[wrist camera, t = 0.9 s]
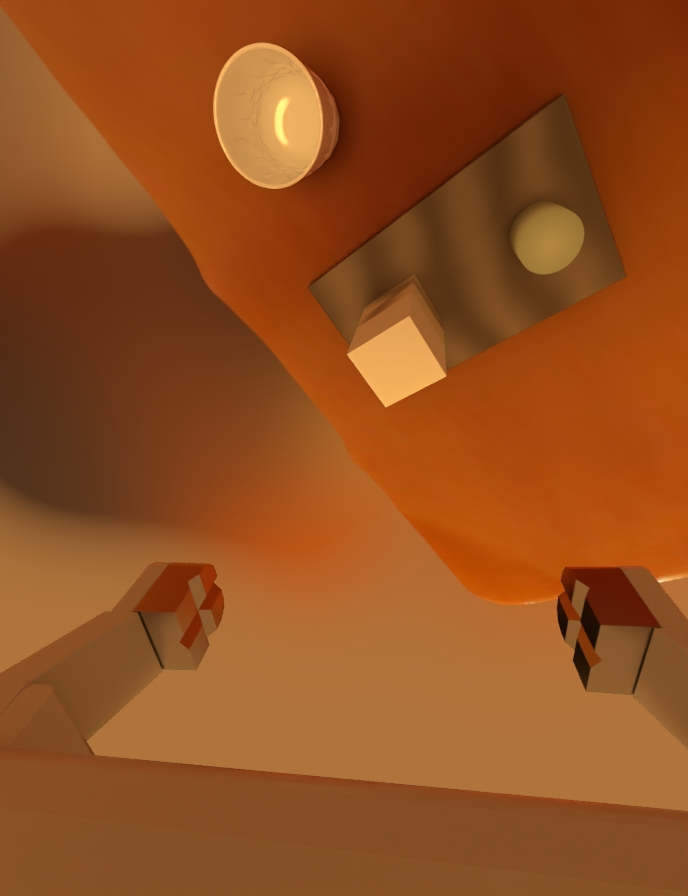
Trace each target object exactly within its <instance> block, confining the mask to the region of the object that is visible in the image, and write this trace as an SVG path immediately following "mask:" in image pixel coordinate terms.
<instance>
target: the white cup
mask: <svg viewBox="0 0 688 896" xmlns="http://www.w3.org/2000/svg"><path fill="white" fill-rule="evenodd" d="M213 111H214V122H215V127H216V132H217V135H218V139H219V141H220V144H221V146H222V149H223V151H224V153H225V155H226V156H227V158H228V160H229V161H230V162H231V164H232V165H233V166H234V168H235V169H236V170H237V171H238V172H239V173H240V174H241V175H242V176H243V177H245V178H246V179H247V180H249V181H250V182H252V183H254V184H256V185H258V186H261V187H265V188H270V189H279V188H285V187H288V186H291V185H293V184H295V183H296V182H298V181H299V180H301V179H303V178H305V177H307V176H308V175H310V174H311V173H313V172H314V171H315V170H316V169H318V168H319V167H320V166H321V165H322V164H323V163H324V162H325V161H326V160H328V159H329V158H330V156H331V154H332V152H333V150H334V148H335V146H336V144H337V142H338V135H339V123H340V117H339V114H338V110H337V106H336V103H335V99H334V96H333V95H332V94H331V92H330V91H329V90H328V89H327V87H326V86H325V84H324V83H323V81H322V80H321V79H320V78H319V77H318V76H317V75H316V74H315V73H314V72H313V71H312V70H311V69H310V68H309V67H308V66H306V65H305V64H304V63H303V62H301V61H300V60H299V59H298V58H296V57H295V56H294V55H293V54H292V53H290V52H289V51H287V50H286V49H284V48H282V47H280V46H277V45H274V44H270V43H254V44H250V45H248V46H245V47H243V48H241V49H240V50H238V51H237V52H236V53H235V54H233V55H232V56H231V57H230V59H229V60H228V61H227V62H226V64H225V65H224V67H223V69H222V71H221V73H220V75H219V78H218V81H217V84H216V88H215V93H214V104H213Z"/></svg>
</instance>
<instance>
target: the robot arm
mask: <svg viewBox="0 0 688 896" xmlns="http://www.w3.org/2000/svg"><path fill="white" fill-rule="evenodd" d="M216 577H217V574H216V571H215V568H214V566H213V565H211V564H206V563H175V562H173V563H164V562H155V563H152V564H150V565H149V566H148V567H147V568H146V569H145V571H144V572H143V573H142V574H141V576H140V577H139V578H138V579H137V580H136V582H135V583H134V584H133V585H132V587H131V588H130V589H129V590H128V592H127V593H126V594H125V595H124V596H123V598H122V599H121V600H120V601H119V602H118V604H117V605H116V606H115V607H114V609H113V610H112V611H111V612H107V611H106V612H103V613H102V614H100V615H98V616H97V617H95V618H93V619H92V620H90V621H88V622H86V623H85V624H83V625H81V626H80V627H78V628H76V629H75V630H73V631H71V632H70V633H68V634H66V635H64V636H63V637H61V638H59V639H58V640H56V641H54V642H53V643H51V644H49V645H48V646H46V647H44V648H43V649H41V650H39V651H37V652H36V653H34V654H32V655H31V656H29V657H27V658H26V659H24V660H22V661H20V662H19V663H17V664H15V665H14V666H12V667H10V668H9V669H7V670H5V671H4V672H2V673H0V896H688V811H681V810H670V809H660V808H650V807H639V806H628V805H618V804H607V803H597V802H586V801H575V800H565V799H553V798H543V797H532V796H522V795H512V794H500V793H490V792H480V791H469V790H458V789H448V788H437V787H426V786H416V785H405V784H395V783H384V782H373V781H363V780H352V779H341V778H330V777H320V776H309V775H298V774H287V773H276V772H266V771H254V770H244V769H234V768H223V767H212V766H202V765H192V764H180V763H170V762H160V761H149V760H139V759H128V758H118V757H107V756H96V755H95V754H94V753H93V751H92V749H91V748H90V746H89V745H88V743H87V740H88V739H89V738H90V737H91V736H93V734H95V733H96V732H97V731H98V730H99V729H100V728H101V727H102V726H104V725H105V724H106V723H107V722H108V721H109V720H110V719H111V718H112V717H113V716H114V715H115V714H117V713H118V712H119V711H120V710H121V709H122V708H123V707H124V706H125V705H126V704H128V702H130V701H131V700H132V699H133V698H134V697H135V696H136V695H137V694H138V693H140V692H141V691H142V690H143V689H144V688H145V687H146V686H147V685H148V684H149V683H150V682H152V681H153V680H154V679H155V678H156V677H157V676H158V675H159V674H160V673H161V672H162V671H163V670H162V669H171V670H172V669H173V670H197V668H198V666H199V664H200V662H201V660H202V658H203V656H204V654H205V652H206V650H207V648H208V646H209V642H208V639H207V636H209V635H210V634H211V633H213V632H214V631H215V630H216V629H217V628H218V626H219V624H220V622H221V619H222V615H223V610H224V597H223V593H222V590H221V589H220V588H219V587H218V586H217V585H216V584H215V583H214V581H215V579H216ZM561 583H562V585H563V587H564V589H565V591H564V592H563V593H562V594H560V595H559V596H558V602H557V616H558V623H559V627H560V630H561V633H562V636H563V638H564V641H565V642H566V643H567V644H568V645H570V646H571V647H572V648H573V649H574V650H575V652H574V657H573V662H574V664H575V667H576V669H577V671H578V674H579V676H580V679H581V681H582V683H583V686H584V688H585V690H586V691H590V692H602V693H614V694H627V695H634V696H633V697H634V699H636V700H637V701H638V702H639V703H640V704H641V705H642V706H643V707H644V708H645V709H646V710H647V711H648V712H649V713H650V714H651V715H652V716H653V717H655V718H656V719H657V720H658V721H659V722H660V723H661V724H662V725H663V726H664V727H665V728H666V729H667V730H668V731H669V732H670V733H671V734H672V735H674V736H675V737H676V738H677V739H678V740H679V741H680V742H681V743H682V744H683V745H684V746H685V747H686V748H687V749H688V619H687V618H686V617H685V616H684V615H683V613H682V612H681V611H680V609H679V608H678V607H677V606H676V604H675V603H674V602H673V600H672V599H671V598H670V597H669V595H668V594H667V593H666V592H665V590H664V589H663V588H662V586H661V585H660V584H659V583H658V581H657V580H656V579H655V578H654V576H653V575H652V574H651V573H650V571H649V570H648V569H646V568H645V567H643V566H616V567H565V568H564V570H563V571H562V576H561Z"/></svg>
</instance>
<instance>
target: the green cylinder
mask: <svg viewBox="0 0 688 896" xmlns="http://www.w3.org/2000/svg"><path fill="white" fill-rule="evenodd" d="M583 241H584V227H583V224H582V221H581V220H580V218H579V217H578V216H577V215H576V214H575V213H573V212H572V211H570V210H568V209H566V208H564V207H563V206H561V205H559V204H557V203H555V202H552V201H539V202H535V203H533V204H531V205H529V206H527V207H526V208H525V209H524V210H522V211H521V212H520V213H519V215H518V216H517V217H516V219H515V220H514V222H513V225H512V227H511V231H510V244H511V247H512V249H513V251H514V252H515V254H516V255H517V257H518V258H519V259H520V261H521V262H522V264H523V265H524V266H525V267H526V268H527V269H528V270H529V271H531V272H533V273H536V274H551V273H555V272H557V271H559V270H561V269H563V268H565V267H566V266H567V265H569V264H570V263H571V262H572V261H573V260H574V258H575V257H576V256H577V254H578V253H579V251H580V249H581V247H582V244H583Z"/></svg>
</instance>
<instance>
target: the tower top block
mask: <svg viewBox="0 0 688 896" xmlns="http://www.w3.org/2000/svg"><path fill="white" fill-rule="evenodd" d="M347 355H348V357H349V358H350V359H351V361H352V362H353V363H354V365H355V366H356V368H357V369H358V370H359V372H360V373H361V374H362V376H363V377H364V378H365V380H366V381H367V383H368V384H369V385H370V387H371V388H372V389H373V391H374V392H375V394H376V395H377V396H378V398H379V399H380V400H381V402H382V403H383V404H384V406H385V407H387V406H389V405H391V404H393V403H395V402H397V401H399V400H401V399H403V398H405V397H407V396H409V395H411V394H413V393H415V392H417V391H419V390H421V389H422V388H424V387H426V386H428V385H430V384H432V383H434V382H436V381H438V380H440V379H442V378H444V377H446V376H447V375H446V359H445V346H444V345H443V343H442V341H441V340H440V338H439V336H438V335H437V333H436V331H435V330H434V328H433V326H432V325H431V323H430V321H429V319H428V318H427V316H426V314H425V313H424V311H423V309H422V308H421V306H420V304H419V303H418V301H417V299H416V298H415V296H414V294H413V293H410V294H408V295H407V296H405V297H404V298H402V299H401V300H399V301H398V302H396V303H394V304H393V305H391V306H390V307H388V308H387V309H385V310H384V311H382V312H381V313H379V314H377V315H376V316H374V317H373V318H371V319H370V320H368V321H367V322H365V323H364V324H362V325H360V326H359V327H357V329H356V332H355V334H354V337H353V340H352V342H351V345H350V348H349V350H348V353H347Z"/></svg>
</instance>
